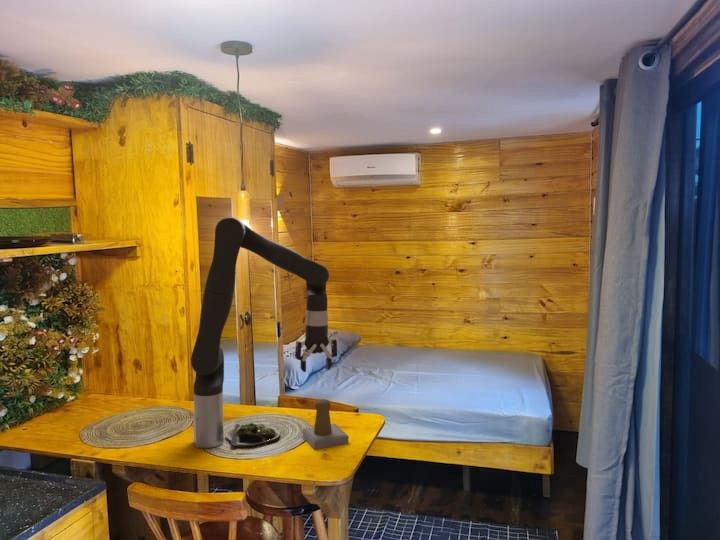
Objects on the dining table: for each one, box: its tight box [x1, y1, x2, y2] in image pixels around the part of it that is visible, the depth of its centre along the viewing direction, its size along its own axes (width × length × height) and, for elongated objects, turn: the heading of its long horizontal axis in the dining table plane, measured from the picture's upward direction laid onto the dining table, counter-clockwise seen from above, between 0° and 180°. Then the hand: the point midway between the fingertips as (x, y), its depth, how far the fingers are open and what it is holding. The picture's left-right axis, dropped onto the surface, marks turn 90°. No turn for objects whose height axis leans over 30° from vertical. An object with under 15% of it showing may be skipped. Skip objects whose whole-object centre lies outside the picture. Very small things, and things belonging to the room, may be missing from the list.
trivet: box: [301, 423, 349, 450], centre depth 183 cm, size 12×12×3 cm
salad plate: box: [225, 422, 281, 449], centre depth 186 cm, size 19×18×5 cm
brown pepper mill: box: [313, 398, 332, 436], centre depth 182 cm, size 6×6×11 cm
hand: (316, 370), depth 184 cm, fingers open, 8 cm apart
